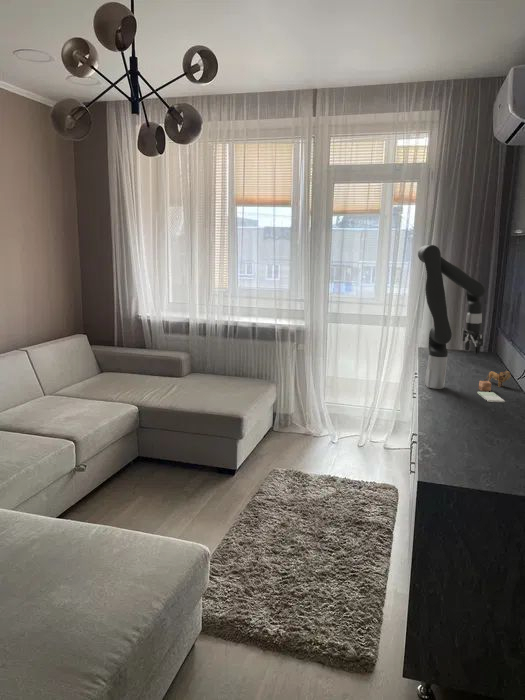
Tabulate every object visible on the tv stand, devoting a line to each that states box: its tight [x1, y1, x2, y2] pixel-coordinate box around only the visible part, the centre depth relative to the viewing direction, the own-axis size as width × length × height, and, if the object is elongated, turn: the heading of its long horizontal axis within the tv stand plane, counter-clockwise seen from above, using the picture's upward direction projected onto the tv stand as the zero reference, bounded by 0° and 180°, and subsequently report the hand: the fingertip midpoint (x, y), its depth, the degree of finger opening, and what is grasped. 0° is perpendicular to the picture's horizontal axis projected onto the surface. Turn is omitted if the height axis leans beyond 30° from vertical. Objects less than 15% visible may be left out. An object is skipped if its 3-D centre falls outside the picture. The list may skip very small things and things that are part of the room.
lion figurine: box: [483, 370, 512, 388], centre depth 275 cm, size 15×5×9 cm, turn 34°
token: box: [478, 380, 492, 392], centre depth 265 cm, size 4×4×4 cm
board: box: [476, 391, 506, 403], centre depth 253 cm, size 8×14×1 cm, turn 178°
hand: (471, 351), depth 266 cm, fingers open, 8 cm apart
